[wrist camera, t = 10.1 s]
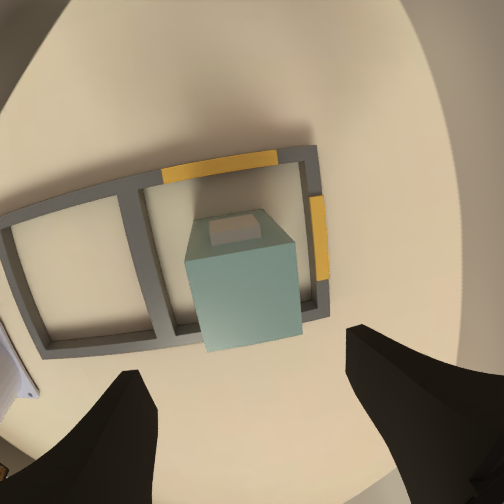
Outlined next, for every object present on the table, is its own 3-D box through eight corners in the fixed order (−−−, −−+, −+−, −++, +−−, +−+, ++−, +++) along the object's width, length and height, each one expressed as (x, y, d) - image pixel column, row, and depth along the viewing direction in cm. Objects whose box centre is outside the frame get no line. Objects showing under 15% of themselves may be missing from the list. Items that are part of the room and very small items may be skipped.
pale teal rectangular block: (206, 284, 19) (206, 352, 12) (191, 212, 17) (181, 248, 10) (270, 272, 19) (302, 334, 12) (261, 200, 17) (293, 228, 11)
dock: (48, 350, 18) (41, 361, 17) (-1, 216, 15) (-12, 221, 14) (323, 307, 20) (331, 317, 19) (309, 145, 17) (317, 145, 15)
